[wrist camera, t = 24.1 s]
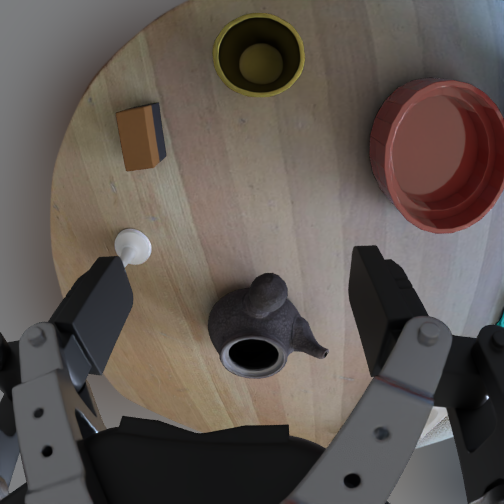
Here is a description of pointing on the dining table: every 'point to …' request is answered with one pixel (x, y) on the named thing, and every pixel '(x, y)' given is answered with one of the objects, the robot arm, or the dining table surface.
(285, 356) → the teapot
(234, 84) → the vase
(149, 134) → the eraser
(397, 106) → the red bowl
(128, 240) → the chess piece
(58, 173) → the dining table surface
